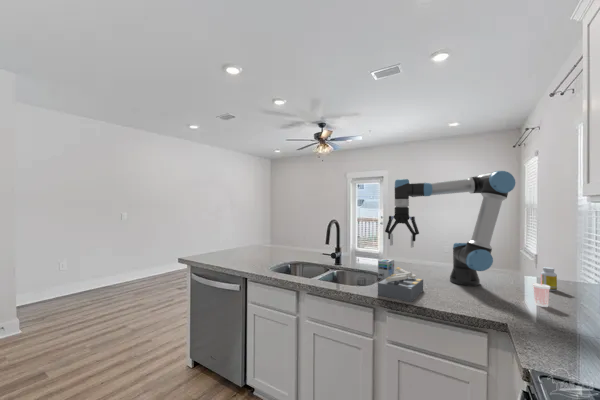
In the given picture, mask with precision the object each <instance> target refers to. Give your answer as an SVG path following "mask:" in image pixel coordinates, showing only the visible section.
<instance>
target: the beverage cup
mask: <svg viewBox="0 0 600 400" xmlns="http://www.w3.org/2000/svg"><path fill="white" fill-rule="evenodd" d="M532 287H533V295H534V297H533V298H534V305H536V306H537V307H543V308H548V307H549V300H550V291H549V289H550V286H548V285H544V284H542V274H541V273H540V283H537V282H536V283H532Z"/></svg>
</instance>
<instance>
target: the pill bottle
mask: <svg viewBox="0 0 600 400" xmlns="http://www.w3.org/2000/svg"><path fill="white" fill-rule="evenodd" d="M541 274H542V284H544V285H548V286H550V289H549V292H550V291H551V292H555V291H557V290H558V277H557V274H556V273H555V268H554V267H549V266H543V267H542V271H541V272H540V275H541Z"/></svg>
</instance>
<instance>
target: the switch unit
mask: <svg viewBox="0 0 600 400" xmlns="http://www.w3.org/2000/svg"><path fill="white" fill-rule="evenodd" d="M389 277H390V276H389ZM387 278H388V277H387ZM423 291H424V279H423V278H419V277H415V278H414V279H412V278H410V277H408V278H407V279H403V280H396V281H388V282H386V279H382V280H380V281H378V283H377V295H378V296H381V297H384V298H386V297H387V298H391V299H395V300H400V301H405V302H410V303H411V302H412V301H414V300H415V299H416V298H417V297H418V296H419V295H420V294H421V293H422V292H423Z"/></svg>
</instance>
